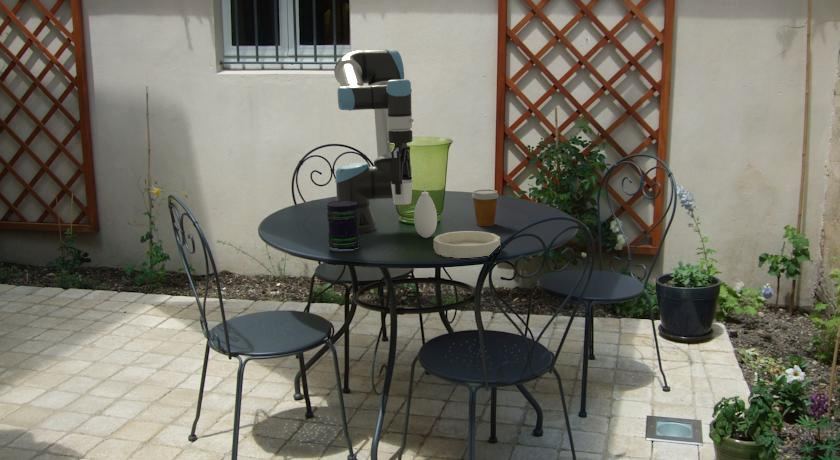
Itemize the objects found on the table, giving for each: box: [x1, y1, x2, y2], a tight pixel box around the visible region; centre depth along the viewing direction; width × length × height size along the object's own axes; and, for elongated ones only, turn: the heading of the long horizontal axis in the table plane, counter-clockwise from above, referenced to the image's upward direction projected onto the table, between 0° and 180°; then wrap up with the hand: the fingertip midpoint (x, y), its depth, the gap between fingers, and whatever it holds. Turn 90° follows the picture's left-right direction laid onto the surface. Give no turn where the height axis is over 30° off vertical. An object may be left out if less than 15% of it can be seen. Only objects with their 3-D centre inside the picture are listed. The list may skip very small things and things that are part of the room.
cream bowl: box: [432, 230, 501, 259], centre depth 279 cm, size 20×20×4 cm
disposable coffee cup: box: [471, 189, 499, 227], centre depth 315 cm, size 10×10×12 cm
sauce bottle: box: [413, 184, 438, 239], centre depth 297 cm, size 8×8×18 cm
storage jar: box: [326, 200, 360, 249], centre depth 285 cm, size 10×10×15 cm
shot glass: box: [391, 180, 413, 206], centre depth 280 cm, size 7×7×7 cm
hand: (402, 202), depth 280 cm, fingers closed on shot glass, 7 cm apart
